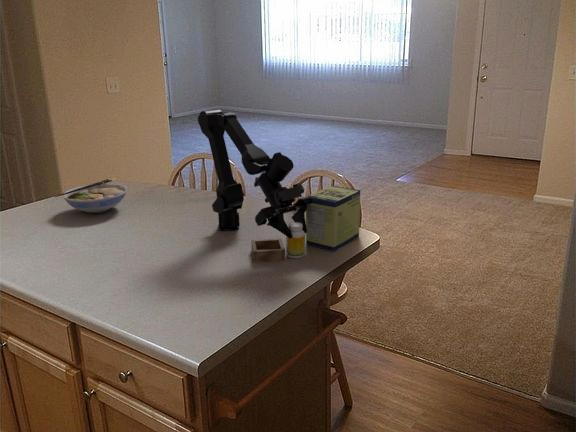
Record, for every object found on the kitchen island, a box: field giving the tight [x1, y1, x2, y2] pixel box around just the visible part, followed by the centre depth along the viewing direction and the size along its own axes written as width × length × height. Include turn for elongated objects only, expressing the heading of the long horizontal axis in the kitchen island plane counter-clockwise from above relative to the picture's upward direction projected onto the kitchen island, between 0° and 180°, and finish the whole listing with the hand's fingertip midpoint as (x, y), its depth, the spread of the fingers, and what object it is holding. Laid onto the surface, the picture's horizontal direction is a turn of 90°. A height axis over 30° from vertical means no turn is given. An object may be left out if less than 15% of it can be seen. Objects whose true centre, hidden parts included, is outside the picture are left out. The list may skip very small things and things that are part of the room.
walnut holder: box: [250, 238, 286, 264], centre depth 154 cm, size 9×9×3 cm
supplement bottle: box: [285, 222, 306, 259], centre depth 153 cm, size 5×5×10 cm
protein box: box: [305, 185, 361, 252], centre depth 162 cm, size 10×16×16 cm
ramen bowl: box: [54, 178, 128, 214], centre depth 196 cm, size 25×23×8 cm
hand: (298, 235), depth 151 cm, fingers closed on supplement bottle, 5 cm apart
